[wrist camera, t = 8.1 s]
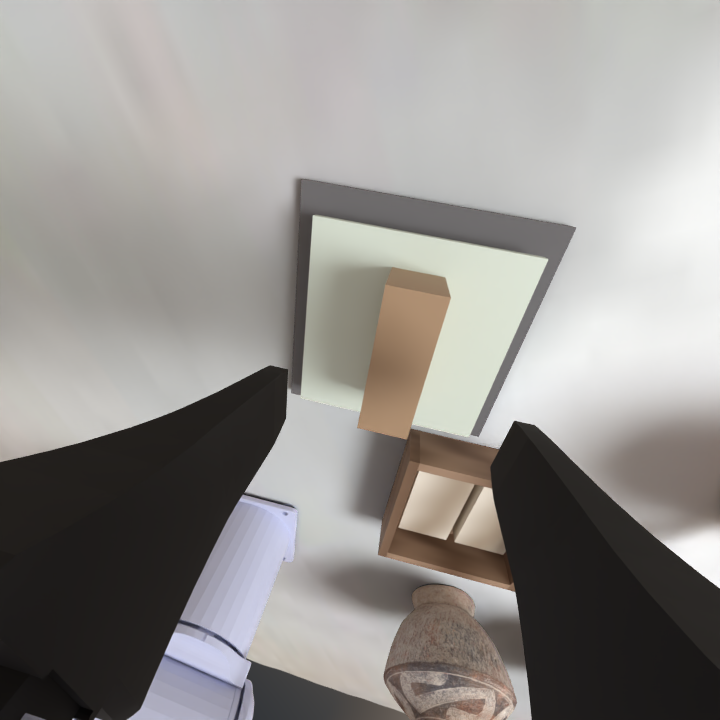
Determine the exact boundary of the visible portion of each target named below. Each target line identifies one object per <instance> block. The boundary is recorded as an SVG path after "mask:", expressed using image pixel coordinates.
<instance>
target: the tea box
mask: <svg viewBox="0 0 720 720" xmlns="http://www.w3.org/2000/svg"><path fill="white" fill-rule="evenodd" d="M498 451H499V449H495V448H490V447H486V446H482V445H478V444H473V443H469V442H465V441H461V440H457V439H452V438H448V437H444V436H440V435H435V434H431V433H427V432H423V431H418V430H414V429H411V430H410V433H409V436H408V440H407V443H406V446H405V449H404V452H403V455H402V459H401V462H400V465H399V468H398V471H397V474H396V478H395V481H394V484H393V487H392V490H391V493H390V497H389V500H388V503H387V506H386V509H385V512H384V516H383V519H382V525H381V534H380V542H379V551H378V555H380V556H384V557H388V558H391V559H395V560H399V561H403V562H406V563H410V564H414V565H417V566H421V567H425V568H429V569H432V570H436V571H440V572H444V573H447V574H451V575H455V576H458V577H462V578H466V579H470V580H473V581H477V582H481V583H485V584H488V585H492V586H496V587H499V588H503V589H507V590H511V591H514V592H515V587H514V583H513V578H512V574H511V570H510V565H509V561H508V557H507V553H506V549H505V545H504V541H503V537H502V533H501V529H500V525H499V521H498V517H497V512H496V508H495V504H494V499H493V492H492V483H491V471H490V466H491V464H492V462H493V461H494V459H495V457H496V455H497V453H498Z"/></svg>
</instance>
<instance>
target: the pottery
mask: <svg viewBox="0 0 720 720" xmlns="http://www.w3.org/2000/svg"><path fill="white" fill-rule="evenodd" d="M412 601H413V605H414V609H415V610H414V611H413V612H412V613H410V614H409V615H408V616H407V617H406V619H405V620H404V621H403V622H402V624H401V625H400V627H399V629H398V632H397V634H396V636H395V638H394V641H393V643H392V646H391V649H390V653H389V656H388V660H387V663H386V667H385V671H384V681H385V684H386V686H387V688H388V689H389V691H390V693H391V694H392V696H393V697H394V699H395V700H396V702H397V703H398V705H399V706H400V707H401V709H402V710H403V711H404V712H405V713H406V714H407V716H408V717H409V718H410V720H506V719H507V718H508V717H509V716H510V714H511V713H512V712H513V710H514V709H515V706H516V703H517V701H516V697H515V693H514V690H513V687H512V684H511V681H510V678H509V676H508V673H507V671H506V668H505V666H504V664H503V661H502V659H501V657H500V655H499V652H498V650H497V648H496V646H495V645H494V643H493V641H492V640H491V638H490V636H489V635H488V634H487V633H486V631H485V630H484V629H483V628H482V626H481V625H480V624H479V623H478V622H477V621H476V620H475V619H474V612H475V605H474V601H473V600H472V598H471V597H470V596H469V595H468V594H466V593H465V592H464V591H462V590H460V589H458V588H455V587H452V586H446V585H436V584H432V585H425V586H422V587H419V588H417V589H416V590H415V591H414V592H413V594H412Z"/></svg>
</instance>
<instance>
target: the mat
mask: <svg viewBox="0 0 720 720" xmlns="http://www.w3.org/2000/svg"><path fill="white" fill-rule="evenodd" d="M313 215H321V216H327V217H332V218H338V219H343V220H348V221H354V222H359V223H364V224H370V225H375V226H381V227H386V228H391V229H397V230H402V231H407V232H413V233H418V234H424V235H429V236H434V237H440V238H445V239H450V240H456V241H461V242H467V243H472V244H477V245H483V246H488V247H494V248H499V249H504V250H510V251H515V252H520V253H526V254H531V255H537V256H542V257H545V258H547V259H548V262H547V264H546V266H545V268H544V271H543V273H542V275H541V277H540V280H539V282H538V284H537V286H536V289H535V291H534V293H533V295H532V297H531V300H530V302H529V304H528V306H527V309H526V311H525V313H524V315H523V318H522V320H521V322H520V324H519V327H518V329H517V331H516V333H515V335H514V338H513V340H512V342H511V344H510V347H509V349H508V351H507V353H506V356H505V358H504V360H503V362H502V365H501V367H500V369H499V371H498V374H497V376H496V378H495V380H494V382H493V385H492V387H491V389H490V391H489V394H488V396H487V398H486V400H485V403H484V405H483V407H482V409H481V412H480V414H479V416H478V418H477V421H476V423H475V425H474V427H473V429H472V432H471V434H470V435H474V436H478V437H479V435H480V433H481V431H482V428H483V426H484V424H485V422H486V420H487V418H488V416H489V413H490V411H491V409H492V407H493V405H494V403H495V401H496V399H497V396H498V394H499V392H500V390H501V388H502V386H503V384H504V381H505V379H506V377H507V375H508V373H509V371H510V369H511V366H512V364H513V362H514V360H515V358H516V356H517V354H518V351H519V349H520V347H521V345H522V343H523V341H524V339H525V337H526V334H527V332H528V330H529V328H530V326H531V324H532V322H533V319H534V317H535V315H536V313H537V311H538V309H539V307H540V304H541V302H542V300H543V298H544V296H545V294H546V292H547V289H548V287H549V285H550V283H551V281H552V279H553V277H554V274H555V272H556V270H557V268H558V266H559V264H560V262H561V260H562V257H563V255H564V253H565V251H566V249H567V247H568V245H569V242H570V240H571V238H572V236H573V234H574V232H575V230H576V227H571V226H566V225H560V224H555V223H549V222H543V221H538V220H532V219H526V218H521V217H515V216H509V215H504V214H498V213H492V212H487V211H481V210H476V209H470V208H464V207H459V206H453V205H447V204H442V203H436V202H430V201H425V200H419V199H414V198H408V197H402V196H397V195H391V194H385V193H380V192H374V191H368V190H363V189H357V188H351V187H346V186H340V185H335V184H329V183H323V182H318V181H312V180H306V179H302V180H301V201H300V222H299V243H298V264H297V285H296V305H295V326H294V347H293V368H292V389H291V393H293V394H297V395H301V384H302V369H303V354H304V339H305V324H306V310H307V295H308V280H309V265H310V250H311V235H312V220H313Z"/></svg>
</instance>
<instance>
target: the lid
mask: <svg viewBox="0 0 720 720" xmlns="http://www.w3.org/2000/svg"><path fill="white" fill-rule="evenodd" d="M547 262H548V259H547V258H545V257H542V256H537V255H531V254H526V253H520V252H515V251H510V250H504V249H499V248H494V247H488V246H483V245H477V244H472V243H467V242H461V241H456V240H450V239H445V238H440V237H434V236H429V235H424V234H418V233H413V232H407V231H402V230H397V229H391V228H386V227H381V226H375V225H370V224H364V223H359V222H354V221H348V220H343V219H338V218H332V217H327V216H321V215H313V220H312V235H311V250H310V265H309V280H308V295H307V310H306V324H305V339H304V354H303V369H302V384H301V399H306V400H310V401H314V402H319V403H323V404H327V405H331V406H336V407H340V408H344V409H348V410H353V411H357V412H360V417H359V422H358V427H357V428H360V429H364V430H368V431H373V432H377V433H381V434H385V435H390V436H394V437H398V438H402V439H406V440H407V438H408V435H409V431H410V428H411V425H412V424H413V425H417V426H421V427H425V428H430V429H434V430H438V431H443V432H447V433H451V434H455V435H460V436H464V437H468V438H469V436H470V434H471V432H472V429H473V427H474V425H475V423H476V421H477V418H478V416H479V414H480V412H481V409H482V407H483V405H484V403H485V400H486V398H487V396H488V394H489V391H490V389H491V387H492V385H493V382H494V380H495V378H496V376H497V374H498V371H499V369H500V367H501V365H502V362H503V360H504V358H505V356H506V353H507V351H508V349H509V347H510V344H511V342H512V340H513V338H514V335H515V333H516V331H517V329H518V327H519V324H520V322H521V320H522V318H523V315H524V313H525V311H526V309H527V306H528V304H529V302H530V300H531V297H532V295H533V293H534V291H535V289H536V286H537V284H538V282H539V280H540V277H541V275H542V273H543V271H544V268H545V266H546V264H547Z"/></svg>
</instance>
